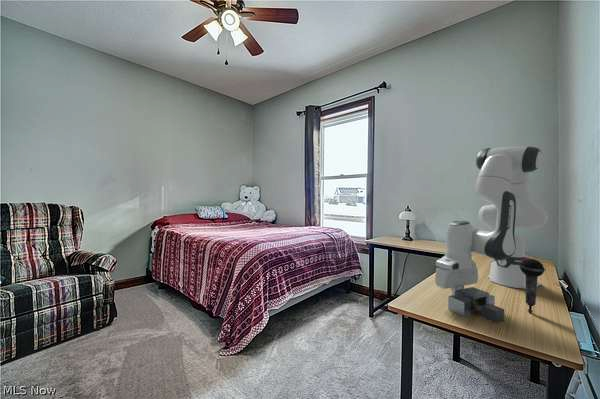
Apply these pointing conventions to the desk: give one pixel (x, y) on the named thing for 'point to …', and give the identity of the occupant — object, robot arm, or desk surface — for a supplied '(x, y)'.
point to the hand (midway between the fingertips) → (456, 296)
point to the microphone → (531, 279)
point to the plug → (491, 312)
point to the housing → (468, 300)
